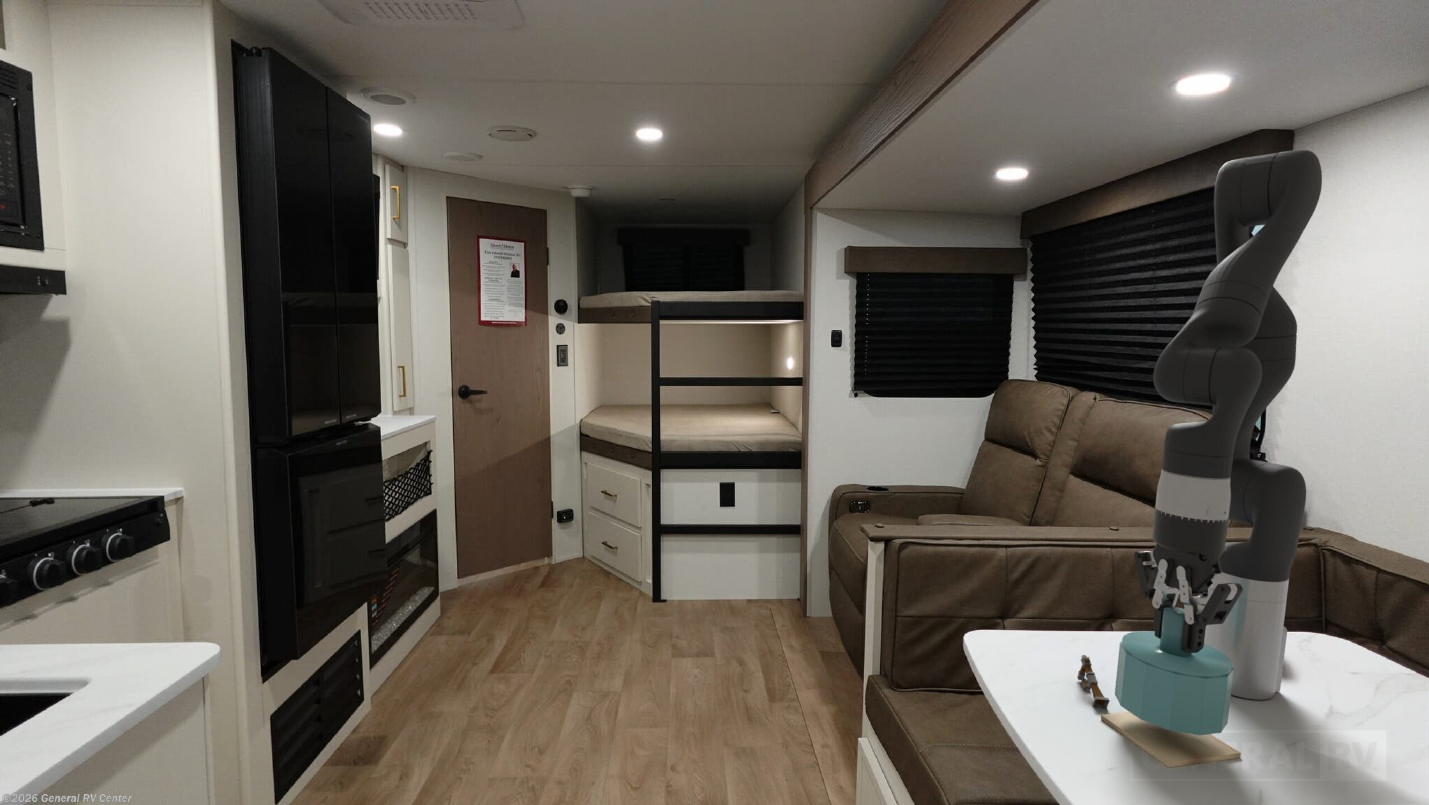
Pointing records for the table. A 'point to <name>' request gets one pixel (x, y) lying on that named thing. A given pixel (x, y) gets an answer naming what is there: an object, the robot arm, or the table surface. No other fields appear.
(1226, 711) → the teal lid with knob
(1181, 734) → the board
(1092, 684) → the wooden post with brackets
